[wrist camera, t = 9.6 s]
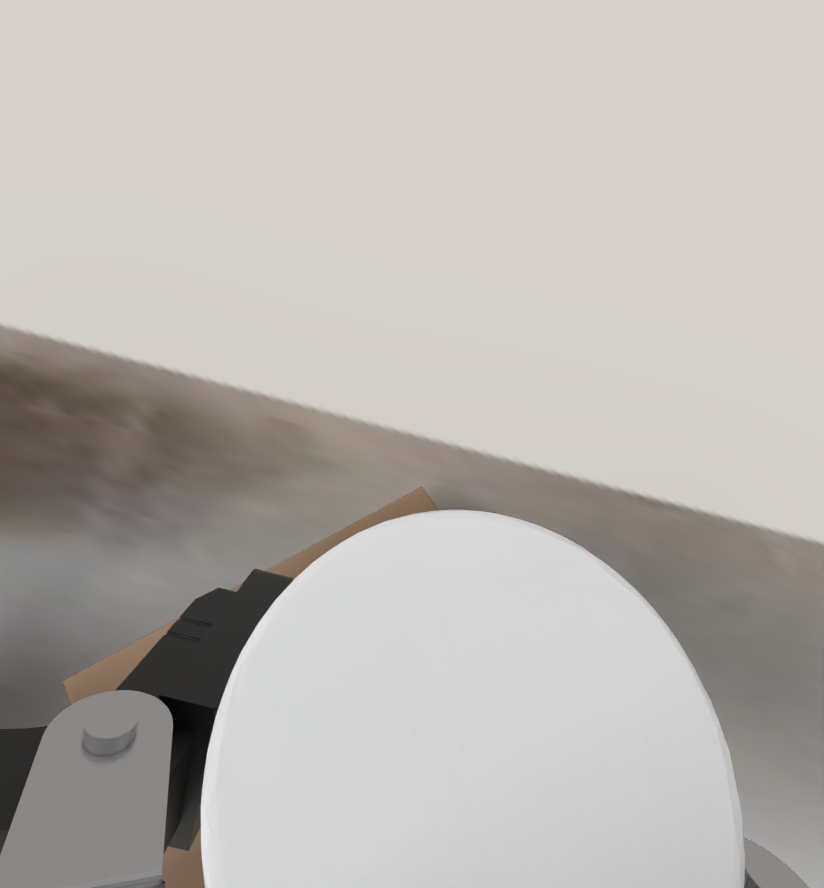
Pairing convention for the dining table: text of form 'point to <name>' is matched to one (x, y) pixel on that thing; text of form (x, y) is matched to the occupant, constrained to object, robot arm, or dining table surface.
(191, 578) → the dining table surface
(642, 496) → the dining table surface
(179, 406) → the dining table surface
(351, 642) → the supplement bottle
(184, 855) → the walnut pocket block
